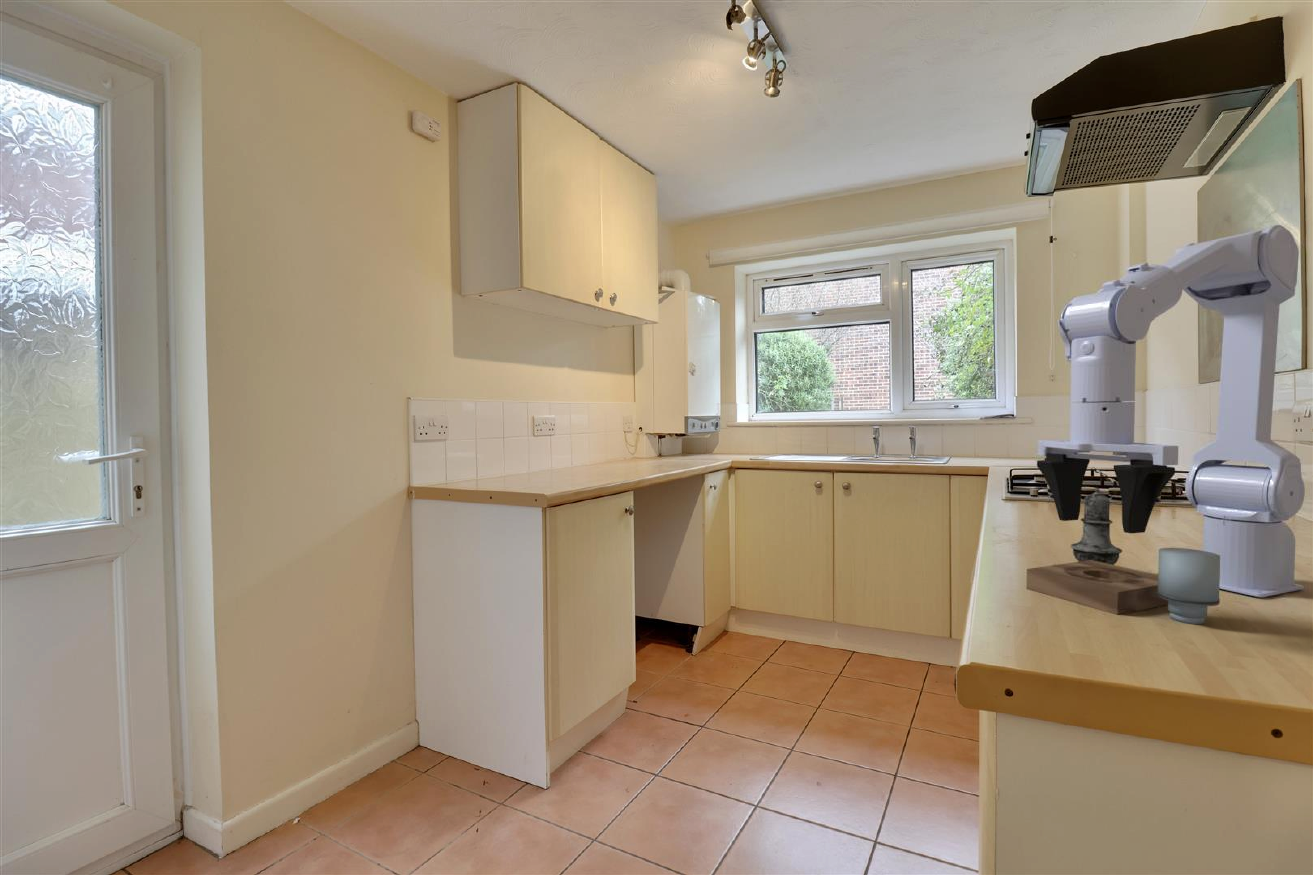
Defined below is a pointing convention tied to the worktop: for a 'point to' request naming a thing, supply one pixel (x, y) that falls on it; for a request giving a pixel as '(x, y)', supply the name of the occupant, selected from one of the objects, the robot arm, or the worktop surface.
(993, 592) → the worktop surface
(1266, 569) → the robot arm
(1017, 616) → the worktop surface
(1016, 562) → the worktop surface
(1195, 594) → the peg
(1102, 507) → the grey flared cylinder
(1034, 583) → the board
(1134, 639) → the worktop surface
